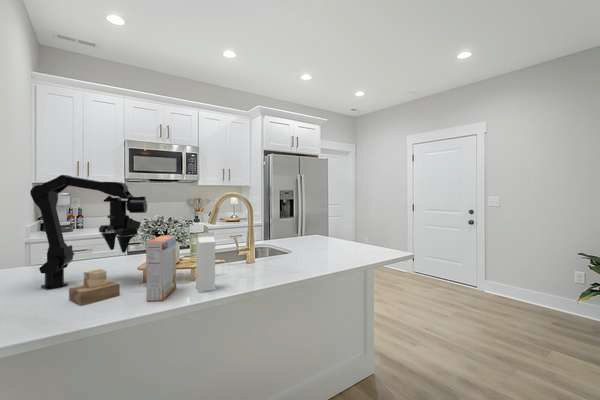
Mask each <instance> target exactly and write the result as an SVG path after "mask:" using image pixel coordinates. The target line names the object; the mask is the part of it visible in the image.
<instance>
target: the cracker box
mask: <svg viewBox="0 0 600 400" xmlns="http://www.w3.org/2000/svg"><path fill="white" fill-rule="evenodd" d="M145 246H146V247H145V248H146V249H145V250H146V251H145V258H146V259H145V260H146V262H145V263H146V264H145V265H146V269H145V270H146V302H163V301H165V300H166V299H167V298H168V297H169V295H171V294H172V293H173V292H174V290H175V289H177V235H174V234H173V235H172V234H171V235H168V234H164V235H160V236H156V237H153V238H152V239H150V240H148V241H145Z"/></svg>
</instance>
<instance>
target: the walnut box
mask: <svg viewBox="0 0 600 400" xmlns="http://www.w3.org/2000/svg"><path fill="white" fill-rule="evenodd" d="M120 286H121V284H120V283H118V282H114V281H111V280H109V279H106V285H104V286H100V287H96V288H92V289H90V288H87V287H85V286H84V284H82V285H77V286H72V287H70V288H68V300H69V301H70V302H72V303H74V304H76V305H79V306H86V305H90V304H92V303H96V302H100V301H104V300H107V299H111V298H114V297H118V296H120V294H121V293H120V290H121V289H120Z"/></svg>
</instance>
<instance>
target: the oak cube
mask: <svg viewBox="0 0 600 400" xmlns="http://www.w3.org/2000/svg"><path fill="white" fill-rule="evenodd" d="M106 280H107V270H104V269H101V268H97V269H92V270H87V271H86V270H85V271H83V285H84V286H85V287H87V288H90V289H92V288H96V287H100V286H104V285H106Z"/></svg>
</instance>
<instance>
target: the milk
mask: <svg viewBox="0 0 600 400" xmlns="http://www.w3.org/2000/svg"><path fill="white" fill-rule="evenodd" d="M214 236H215V235H214V232H199V233H197V239H196V243H195V245H196V248H195V250H196V252H195V253H196V256H195V257H196V258H195V260H196V261H195V289H196V290H197V292H198V293H199V294H200V293H206V292H213V291H215V290H216V289H215V288H216V286H215V285H216V284H215V283H216V239H215V237H214Z"/></svg>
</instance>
